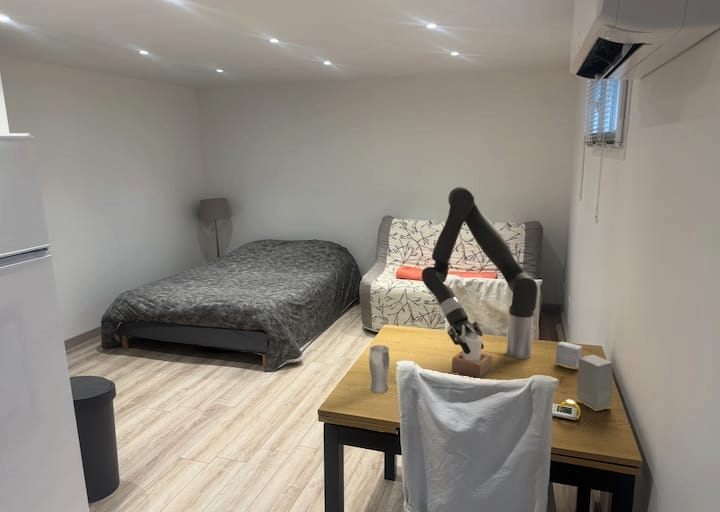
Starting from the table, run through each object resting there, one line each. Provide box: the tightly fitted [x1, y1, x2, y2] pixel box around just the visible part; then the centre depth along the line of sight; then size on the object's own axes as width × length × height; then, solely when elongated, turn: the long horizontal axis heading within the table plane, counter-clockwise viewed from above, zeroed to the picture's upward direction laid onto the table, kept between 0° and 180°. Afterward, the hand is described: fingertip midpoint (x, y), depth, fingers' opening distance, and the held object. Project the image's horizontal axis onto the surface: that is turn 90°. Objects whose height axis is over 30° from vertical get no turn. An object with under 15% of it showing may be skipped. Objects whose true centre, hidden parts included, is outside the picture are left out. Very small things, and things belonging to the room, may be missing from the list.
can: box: [463, 332, 483, 362], centre depth 185 cm, size 6×6×12 cm
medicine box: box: [555, 341, 583, 367], centre depth 190 cm, size 8×4×9 cm, turn 47°
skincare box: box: [577, 354, 614, 409], centre depth 160 cm, size 8×7×16 cm
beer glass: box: [368, 344, 391, 395], centre depth 171 cm, size 7×7×15 cm
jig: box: [451, 349, 493, 379], centre depth 186 cm, size 11×11×6 cm
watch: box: [558, 398, 581, 420], centre depth 153 cm, size 6×3×6 cm, turn 62°
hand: (475, 350), depth 183 cm, fingers closed on can, 6 cm apart
